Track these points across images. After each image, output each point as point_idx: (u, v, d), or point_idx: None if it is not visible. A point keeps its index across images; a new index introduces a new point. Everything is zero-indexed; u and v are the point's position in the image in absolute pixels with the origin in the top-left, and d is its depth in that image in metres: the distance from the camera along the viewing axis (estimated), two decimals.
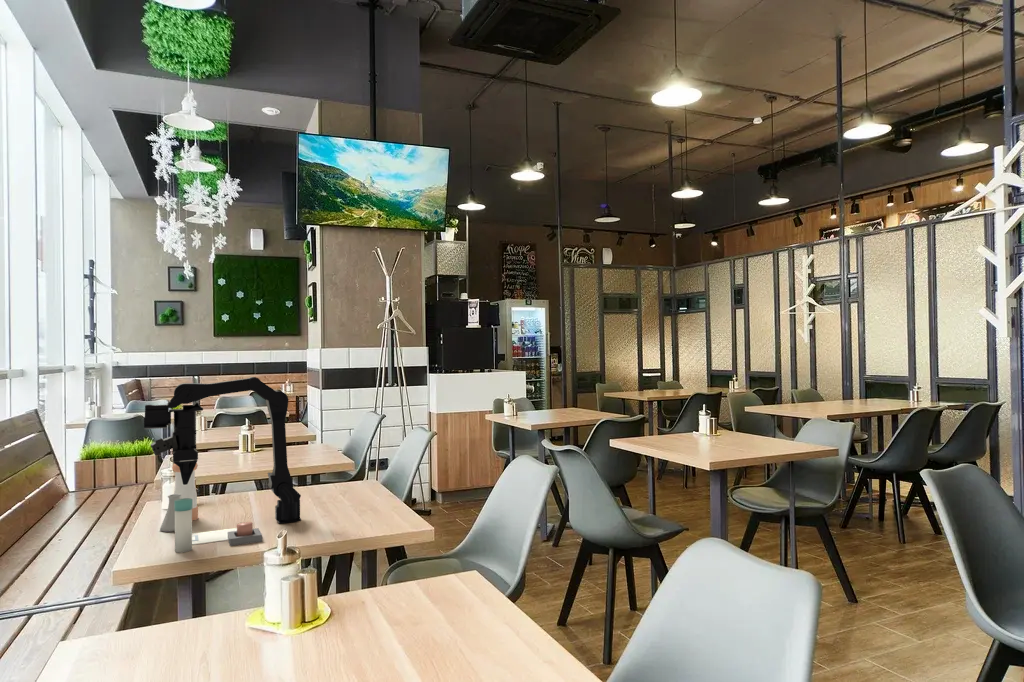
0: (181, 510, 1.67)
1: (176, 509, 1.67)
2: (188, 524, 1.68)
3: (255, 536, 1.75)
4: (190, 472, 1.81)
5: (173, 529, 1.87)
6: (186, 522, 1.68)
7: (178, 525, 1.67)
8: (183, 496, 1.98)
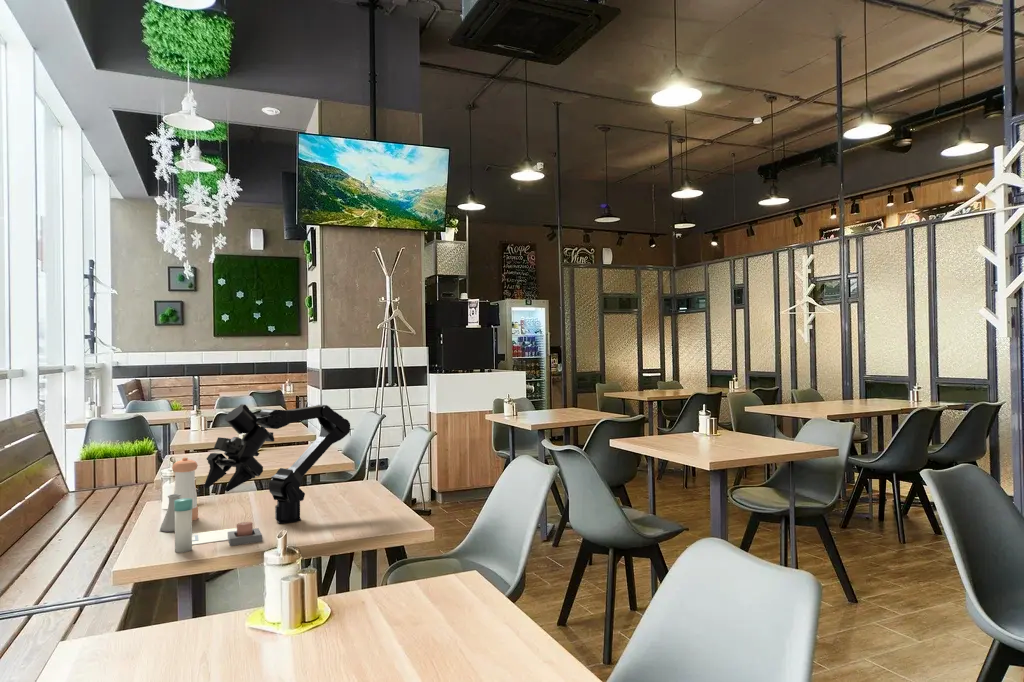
0: (181, 510, 1.67)
1: (176, 509, 1.67)
2: (188, 524, 1.68)
3: (255, 536, 1.75)
4: (239, 483, 1.78)
5: (173, 529, 1.87)
6: (186, 522, 1.68)
7: (178, 525, 1.67)
8: (183, 496, 1.98)
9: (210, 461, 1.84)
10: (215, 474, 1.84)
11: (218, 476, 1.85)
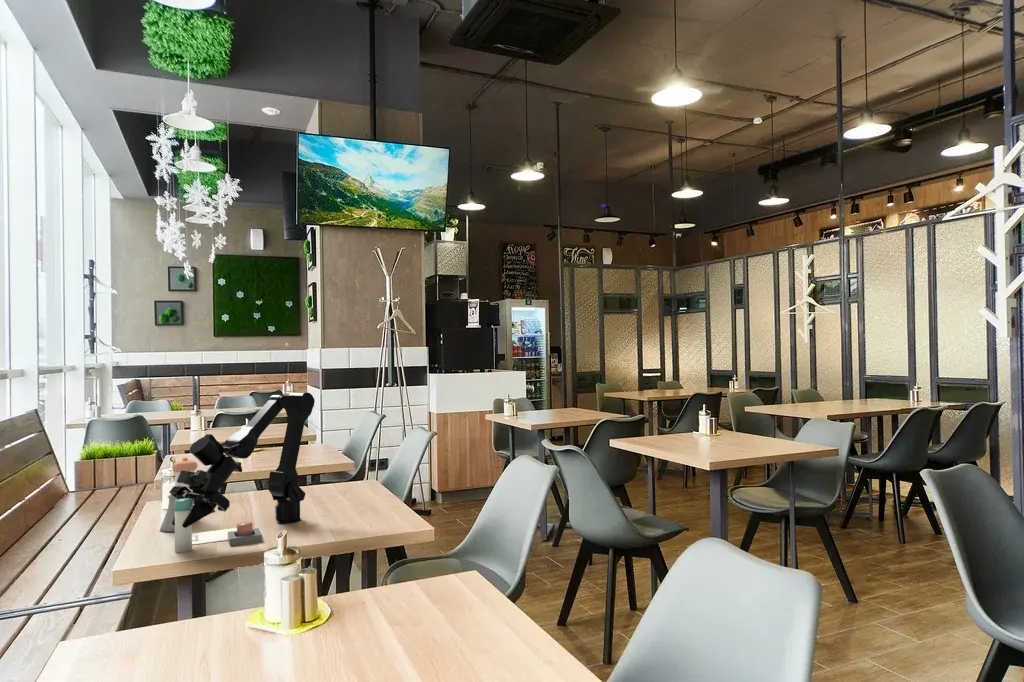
0: (181, 510, 1.67)
1: (176, 509, 1.67)
2: None
3: (255, 536, 1.75)
4: (198, 518, 1.69)
5: (173, 529, 1.87)
6: None
7: (178, 525, 1.67)
8: None
9: (178, 496, 1.72)
10: None
11: None
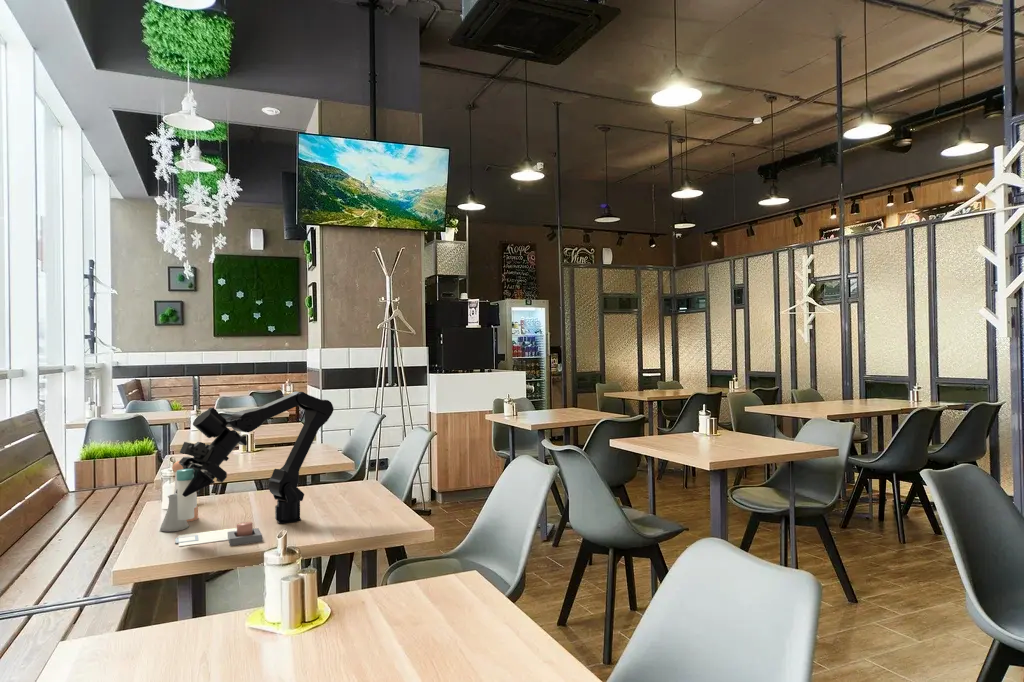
0: (181, 480, 1.74)
1: (177, 478, 1.74)
2: None
3: (255, 536, 1.75)
4: (198, 488, 1.75)
5: (173, 529, 1.87)
6: None
7: (179, 494, 1.74)
8: None
9: (184, 467, 1.80)
10: None
11: None
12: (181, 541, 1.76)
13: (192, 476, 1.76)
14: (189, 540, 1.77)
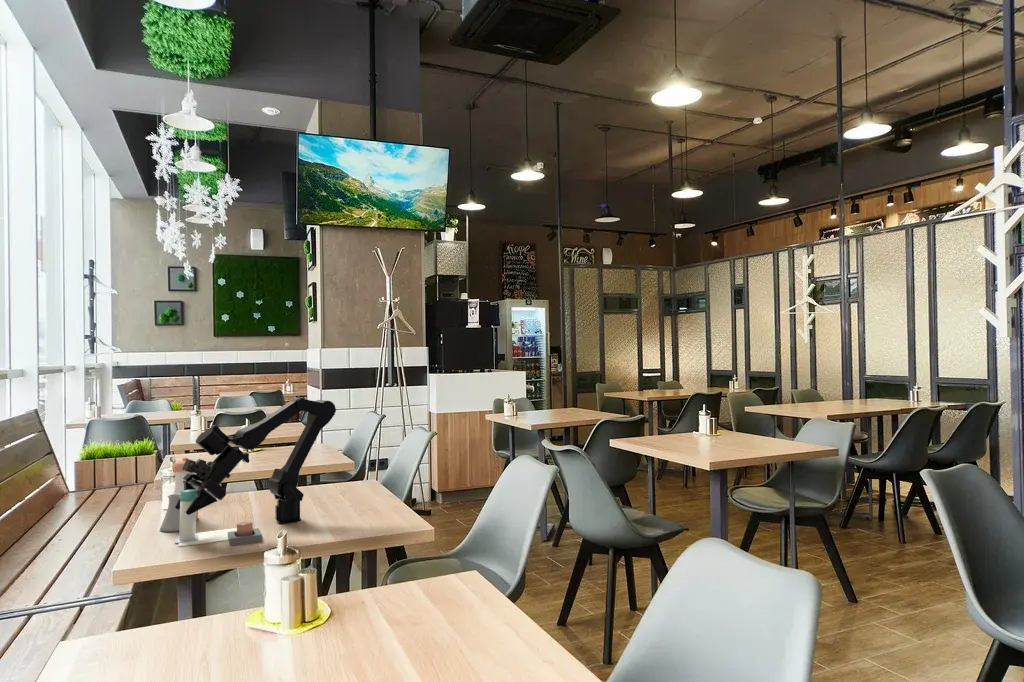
0: (184, 500, 1.77)
1: (180, 499, 1.77)
2: (190, 514, 1.77)
3: (255, 536, 1.75)
4: (201, 506, 1.76)
5: (173, 529, 1.87)
6: None
7: (181, 514, 1.77)
8: None
9: (184, 482, 1.84)
10: None
11: None
12: (181, 541, 1.76)
13: (195, 497, 1.78)
14: (189, 540, 1.77)
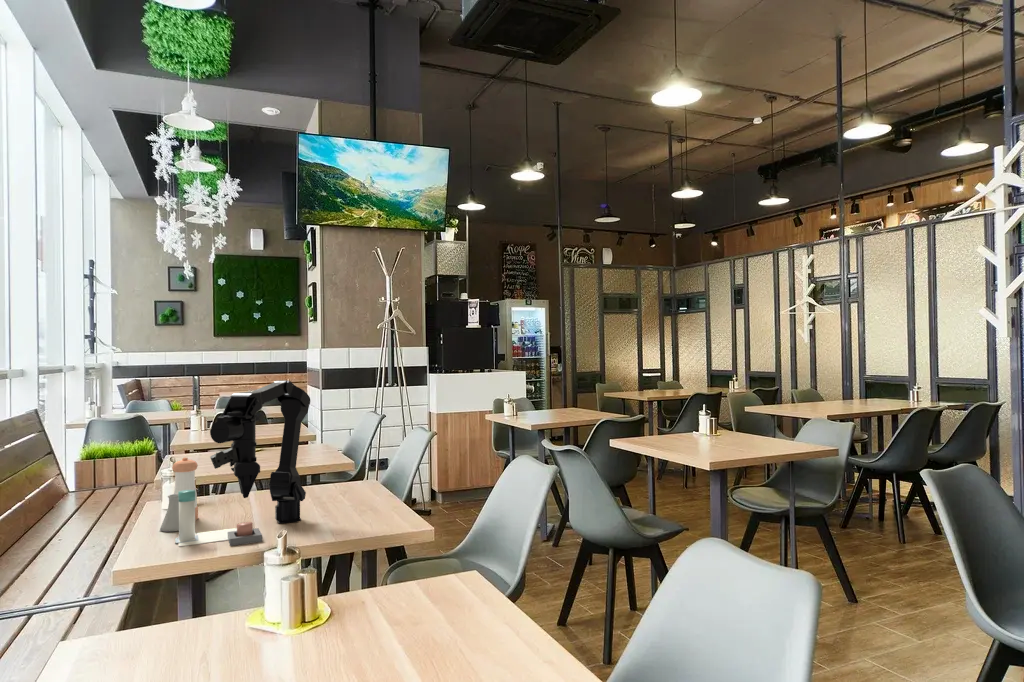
0: (182, 501, 1.76)
1: (179, 500, 1.77)
2: (189, 514, 1.77)
3: (255, 536, 1.75)
4: (251, 485, 1.75)
5: (173, 529, 1.87)
6: (187, 513, 1.77)
7: (180, 515, 1.76)
8: None
9: (231, 469, 1.81)
10: None
11: None
12: (181, 541, 1.76)
13: (193, 497, 1.78)
14: (189, 540, 1.77)
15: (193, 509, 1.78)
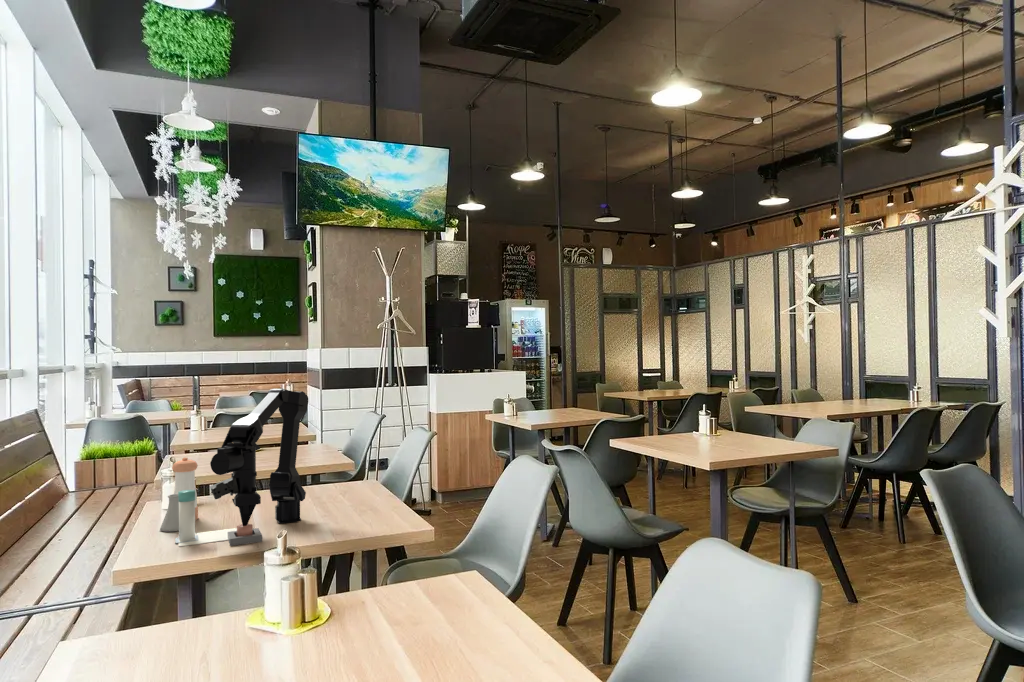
0: (182, 501, 1.76)
1: (179, 500, 1.77)
2: (189, 514, 1.77)
3: (255, 536, 1.75)
4: (250, 513, 1.77)
5: (173, 529, 1.87)
6: (187, 513, 1.77)
7: (180, 515, 1.76)
8: None
9: (233, 501, 1.78)
10: None
11: None
12: (181, 541, 1.76)
13: (193, 497, 1.78)
14: (189, 540, 1.77)
15: (193, 509, 1.78)
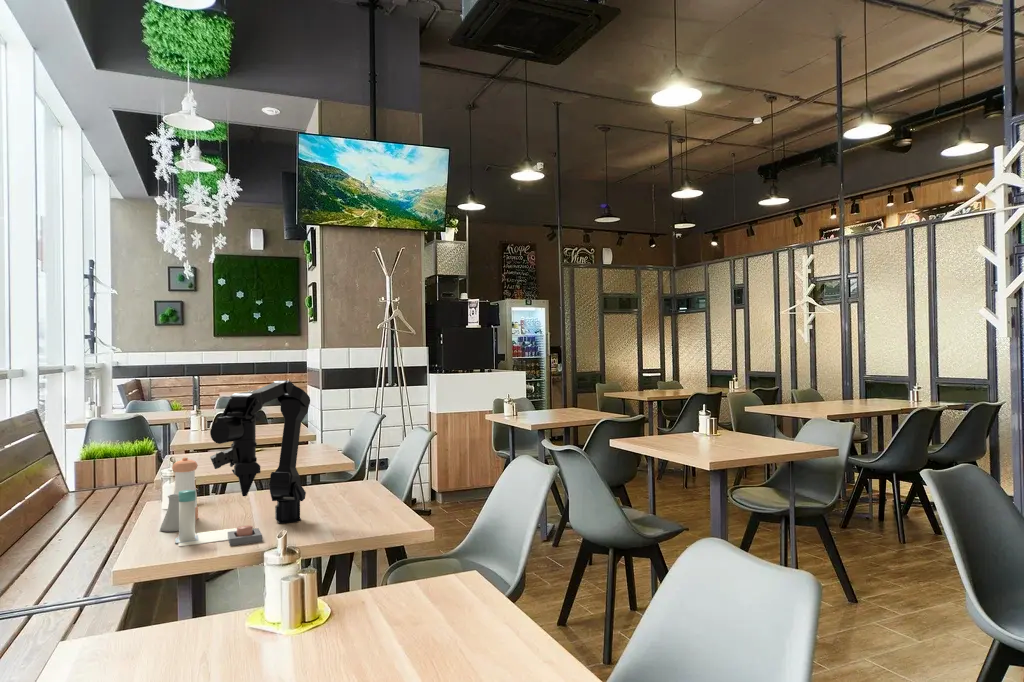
0: (183, 501, 1.76)
1: (179, 500, 1.77)
2: (189, 514, 1.77)
3: (255, 536, 1.75)
4: (250, 483, 1.77)
5: (173, 529, 1.87)
6: (187, 513, 1.77)
7: (180, 515, 1.76)
8: None
9: None
10: None
11: None
12: (181, 541, 1.76)
13: (193, 497, 1.78)
14: (189, 540, 1.77)
15: (193, 509, 1.78)
